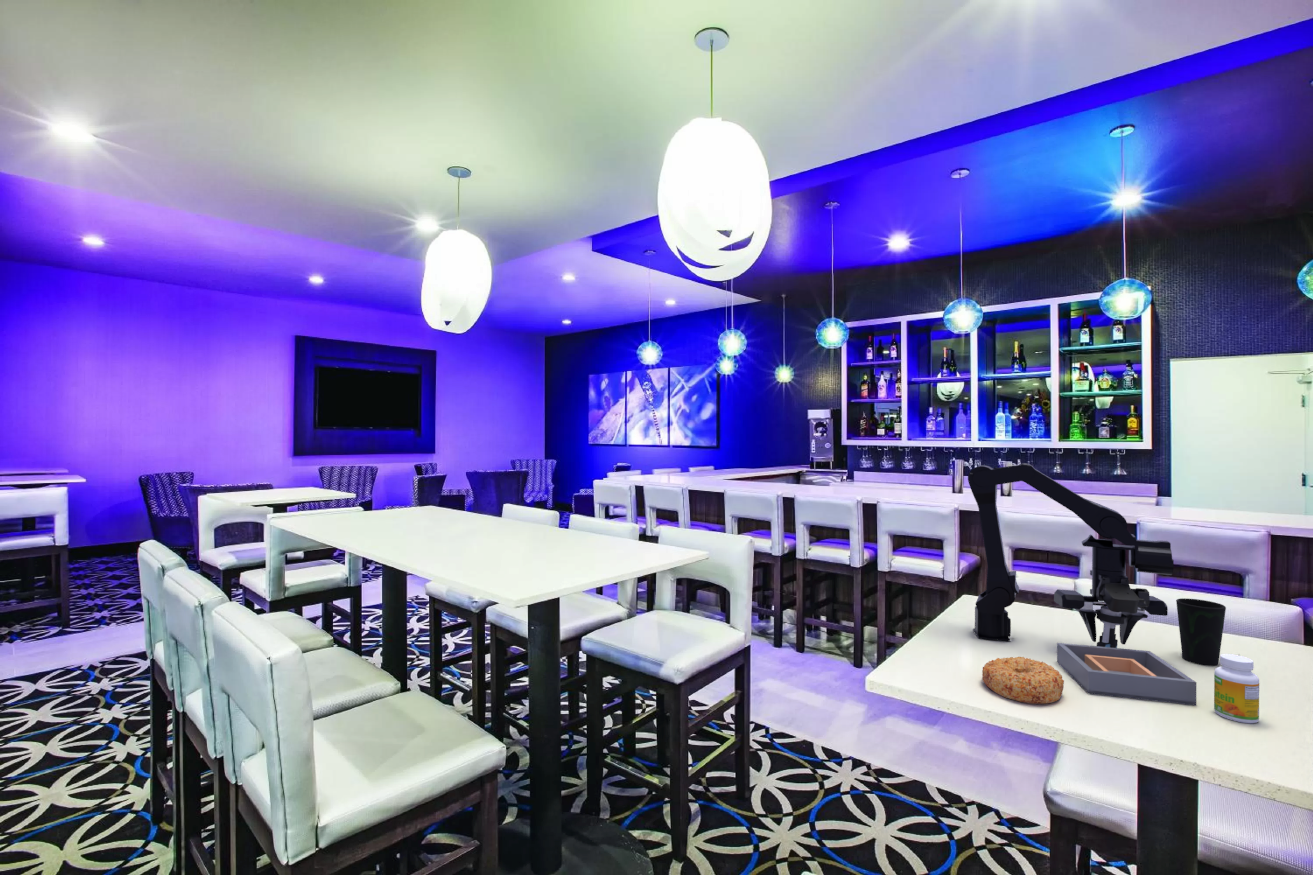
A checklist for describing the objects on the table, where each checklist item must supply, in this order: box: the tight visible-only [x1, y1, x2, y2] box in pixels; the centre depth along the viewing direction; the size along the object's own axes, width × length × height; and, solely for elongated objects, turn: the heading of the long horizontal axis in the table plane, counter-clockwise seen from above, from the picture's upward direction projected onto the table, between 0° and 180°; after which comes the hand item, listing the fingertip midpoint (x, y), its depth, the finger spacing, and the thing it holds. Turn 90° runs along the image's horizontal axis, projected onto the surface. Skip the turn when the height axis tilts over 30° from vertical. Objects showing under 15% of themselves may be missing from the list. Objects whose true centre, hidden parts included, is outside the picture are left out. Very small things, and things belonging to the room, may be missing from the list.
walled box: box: [1056, 642, 1197, 706], centre depth 114 cm, size 16×16×4 cm
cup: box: [1175, 597, 1227, 667], centre depth 125 cm, size 8×8×12 cm
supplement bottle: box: [1213, 653, 1260, 724], centre depth 100 cm, size 5×5×10 cm
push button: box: [1094, 606, 1127, 648], centre depth 128 cm, size 7×5×10 cm
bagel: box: [981, 656, 1065, 705], centre depth 110 cm, size 13×14×5 cm
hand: (1108, 642), depth 128 cm, fingers open, 5 cm apart
